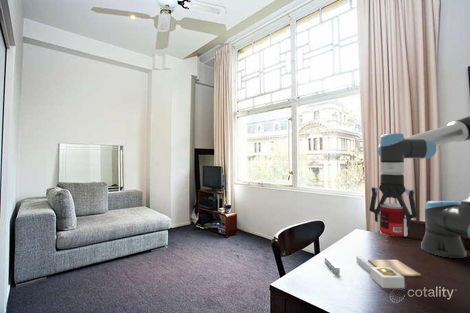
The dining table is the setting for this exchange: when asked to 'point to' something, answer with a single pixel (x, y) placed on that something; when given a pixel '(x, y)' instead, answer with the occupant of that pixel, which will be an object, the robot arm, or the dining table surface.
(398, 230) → the canned food
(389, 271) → the plunger
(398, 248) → the dining table surface
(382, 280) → the plunger block
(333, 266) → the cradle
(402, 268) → the mat
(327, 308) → the dining table surface
